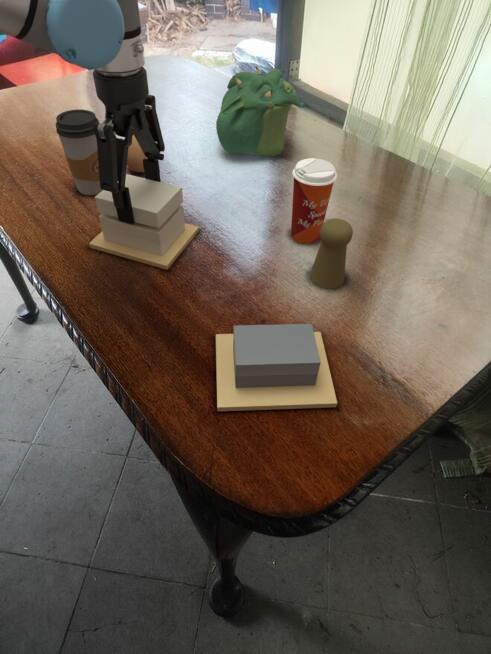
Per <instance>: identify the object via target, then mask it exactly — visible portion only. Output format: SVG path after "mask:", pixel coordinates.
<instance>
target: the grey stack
mask: <svg viewBox="0 0 491 654" xmlns="http://www.w3.org/2000/svg"><path fill="white" fill-rule="evenodd" d="M232 326H233V328H232V329H233V333H216V334H215V366H216V411H217V412H238V411H239V412H241V411H268V410H269V411H271V410H296V409H324V408H327V409H328V408H337V405H338V400H337V396H336V392H335V388H334V387H335V386H334V382H333V379H332V375H331V369H330V366H329V361H328V357H327V353H326V349H325V344H324V341H323V335H322V332H321V331H314V327H313V324H312V323H292V324H291V323H288V324H287V323H285V324H284V323H283V324H281V323H280V324H243V325H242V324H240V325H239V324H237V325H232Z"/></svg>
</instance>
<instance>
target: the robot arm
mask: <svg viewBox="0 0 491 654" xmlns="http://www.w3.org/2000/svg"><path fill="white" fill-rule="evenodd" d="M139 7H140V6H139V0H0V36H9V37H11V38H15V39H16V40H18V41H21V42H24V43H26V44H29V45H31V46H34V47H37V48H40V49H42V50H44V51H45V50H46V51H48V52H51V53H53V54H55V55H58V56H59V57H60V58H61V59H62V61H64V62H67V63H69V64H70V65H75V66H77V67H79V68H82V69H86V70H93V72H92V77H93V83H94V88H95V94H96V97H97V99H98V100H99V101H101V103H102V104H103V105H104V109H105V113H104V120H103V121H102V122H101V123H100V122H99V123H94V125H93V129H94V133H95V136H96V139H97V151H98V165H99V178H100V188H101V190H105V191H109V192H112V197H113V202H114V206H115V207H116V210H117V215H118V220H119V221H121V222H125V223H129V224H133V223H134V222H135V221H134V216H133V210H132V204H131V198H130V192H129V188H128V187H125V181H126V174H127V168H128V166H127V159H128V148H129V146H130V145H131V144H132V136H133V135H134V136H135V138H136V140H137V142H138V144H139V145H140V147H141V149H142V151H143V153H144V155H145V157H148V159H146V158H144V159H143V167H144V172H143V173H144V178H145V179H149V180H153V181H158V182H162V181H161V170H160V162H159V161H164V160H165V153H164V151H165V150H166V145H165V143H164V142H165V141H164V137H163V133H162V130H161V125H160V121H159V116H158V113H157V103H156V96H155V95H152V94H150V89H149V81H148V80H149V79H148V73H147V70H146V68H145V67H144V66H145V64H146V60H145V59H146V58H145V48H144V43H143V37H142V26H141V15H140V8H139ZM117 136H118V137H117ZM119 137H120V138H119ZM154 141H156V142H157V143H155V142H154Z"/></svg>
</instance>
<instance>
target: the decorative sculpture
mask: <svg viewBox="0 0 491 654" xmlns="http://www.w3.org/2000/svg"><path fill="white" fill-rule="evenodd" d="M254 68H255V70H256V73H252V72H249V71H240V72H237V73H235V74H234V75H232V77H231V78H230V79H229V81H228V84H227V90H226V91H225V94H224V95H223V96H222V101H221V107H220V111H219V112H218V116H217V118H216V121H215V127H216V128H215V129H216V135H217V138H218V141H219V143H220V145H221V147H222V149H223V150H224V151H225V153H227V154H229V155H234V156H235V155H244V154H253V155H259V156H264V157H277V156H279V155H281V154H282V152H283V150H284V144H285V136H286V130H287V123H288V118H289V117H288V116H289V113H290V110H291V108H292V106H296V107H301V105H302V101H301V99H300V98H301V97H300V96H299V95H298V94H297V92H296V89H293V86H292V84H291V83H289V82H287V80H286V79H284V77H283V76H284V74H283V72H282V71H281V70H280V69H278V68H274V69H272V70H270V71H268V72H267V73H266V74H265V75H263V73H262V71H261V70H260V68H259V67H258V66H254Z"/></svg>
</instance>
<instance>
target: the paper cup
mask: <svg viewBox="0 0 491 654" xmlns="http://www.w3.org/2000/svg"><path fill="white" fill-rule="evenodd" d="M292 177H293V190H292V207H291V208H292V209H291V228H290V229H291V230H290V234H291V238H292V239H293V240H294V241H296V242H298V243H299V244H300V243H301V244H304V245H305V244H306V245H309V244H314V243H316V242H318V241H319V239H321V238H320V229H321V226H322V225H323V223H324V222H325V219H326V215H327V212H328V207H329V203H330V199H331V195H332V191H333V187H334V183H335V181H336V180H337V178H338V175H337V172H336V168H335V166H334V165H333V164H332V163H331V162H329V160H325V159H321V158H314V157H309V158H304V159H301V160H299V161H298V162H297V163H296V164H295V167H294V168H293V170H292Z"/></svg>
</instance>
